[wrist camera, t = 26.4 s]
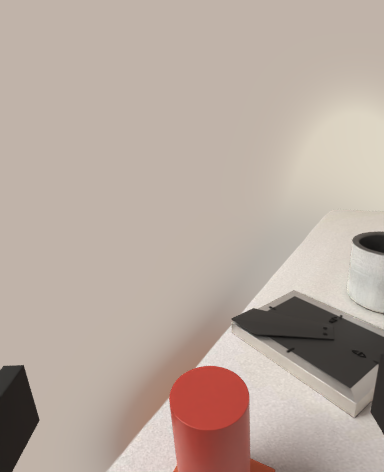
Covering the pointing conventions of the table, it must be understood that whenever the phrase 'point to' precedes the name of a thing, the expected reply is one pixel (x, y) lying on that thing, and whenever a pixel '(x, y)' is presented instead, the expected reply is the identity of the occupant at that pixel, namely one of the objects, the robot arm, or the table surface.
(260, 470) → the terracotta mat
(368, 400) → the picture frame
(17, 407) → the robot arm
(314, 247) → the table surface
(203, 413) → the red tin
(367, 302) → the planter
